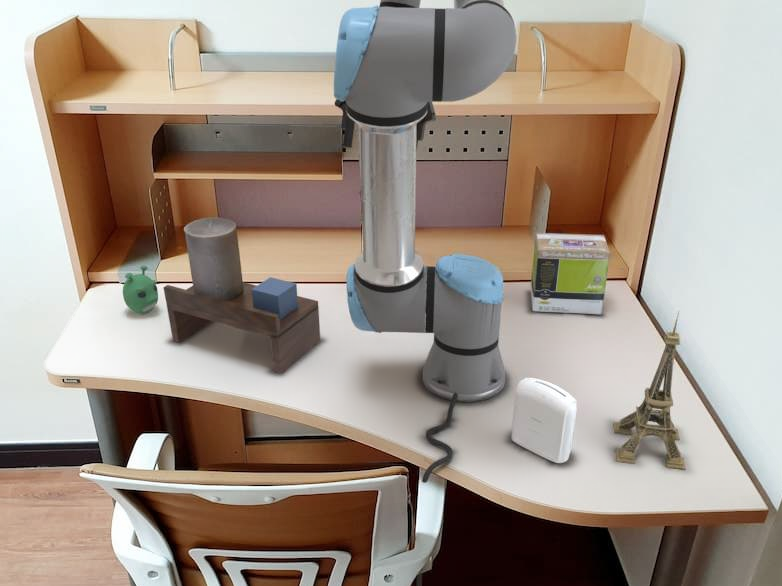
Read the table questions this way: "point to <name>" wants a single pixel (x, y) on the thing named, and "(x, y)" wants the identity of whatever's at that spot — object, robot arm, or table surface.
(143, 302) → the alien toy
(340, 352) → the table surface
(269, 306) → the slate box
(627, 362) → the table surface
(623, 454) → the eiffel tower
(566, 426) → the photo printer
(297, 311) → the shelf
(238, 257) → the pillar candle
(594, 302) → the tea box
